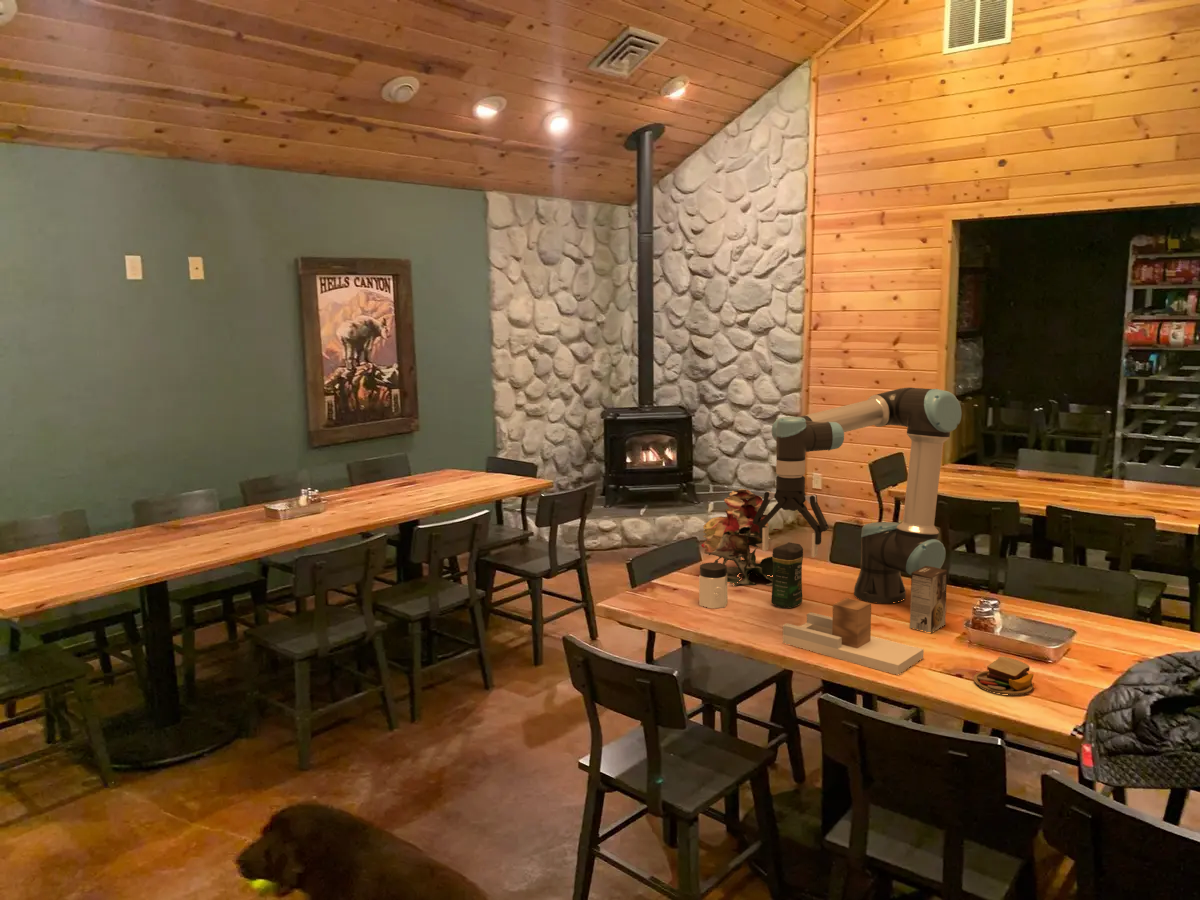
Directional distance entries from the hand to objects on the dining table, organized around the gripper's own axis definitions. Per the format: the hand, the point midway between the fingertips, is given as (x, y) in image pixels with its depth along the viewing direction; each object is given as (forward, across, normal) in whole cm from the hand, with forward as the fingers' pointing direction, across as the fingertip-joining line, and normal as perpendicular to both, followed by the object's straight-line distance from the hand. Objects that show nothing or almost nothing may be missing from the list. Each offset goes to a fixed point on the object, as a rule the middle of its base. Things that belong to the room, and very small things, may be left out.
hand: (789, 553), depth 233 cm
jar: (+23, +28, -14) cm, 39 cm away
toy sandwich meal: (+23, -54, +9) cm, 60 cm away
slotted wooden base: (+23, -18, +4) cm, 29 cm away
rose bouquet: (+23, +32, -46) cm, 60 cm away
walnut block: (+20, -18, +4) cm, 27 cm away
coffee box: (+23, -32, -23) cm, 45 cm away
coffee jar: (+23, +8, -25) cm, 35 cm away
